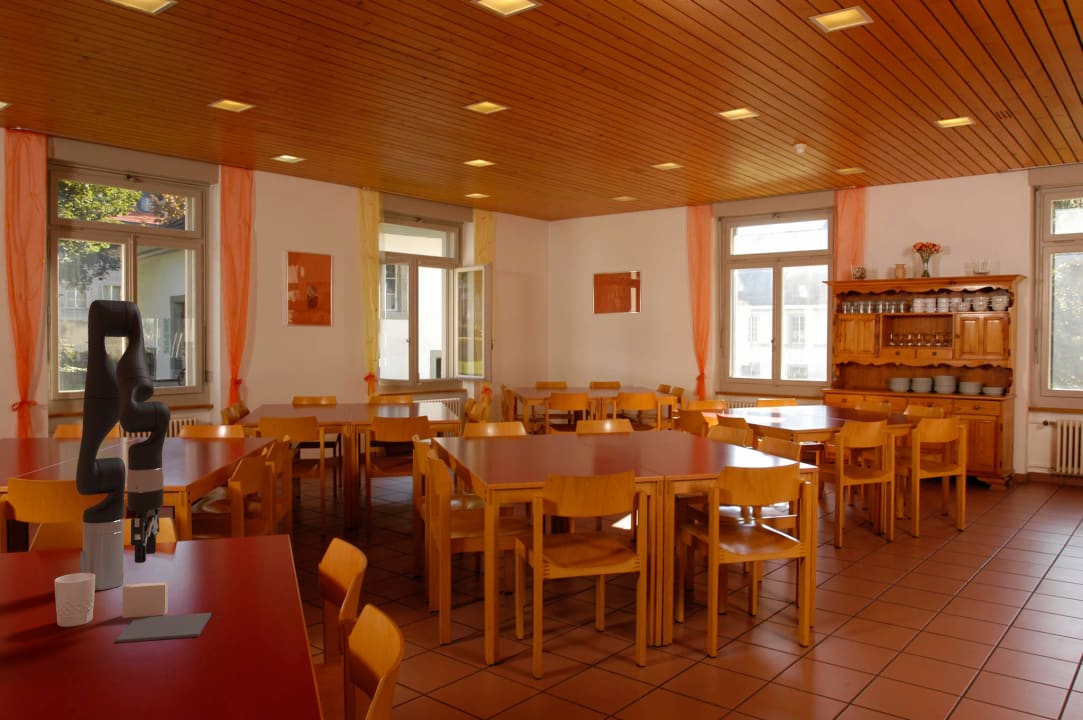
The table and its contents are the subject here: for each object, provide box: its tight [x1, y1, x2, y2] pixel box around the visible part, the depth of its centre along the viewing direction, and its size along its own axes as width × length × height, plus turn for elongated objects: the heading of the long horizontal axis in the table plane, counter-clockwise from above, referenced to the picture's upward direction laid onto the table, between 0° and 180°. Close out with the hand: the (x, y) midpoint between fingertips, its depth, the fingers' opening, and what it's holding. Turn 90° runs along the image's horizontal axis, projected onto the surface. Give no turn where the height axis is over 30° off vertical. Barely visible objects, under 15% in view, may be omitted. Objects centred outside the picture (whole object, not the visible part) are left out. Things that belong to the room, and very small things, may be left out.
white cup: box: [54, 572, 96, 628], centre depth 173 cm, size 8×8×10 cm
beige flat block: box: [122, 581, 169, 619], centre depth 178 cm, size 9×2×7 cm, turn 103°
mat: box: [115, 612, 212, 644], centre depth 169 cm, size 16×14×1 cm
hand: (145, 557), depth 178 cm, fingers open, 8 cm apart
